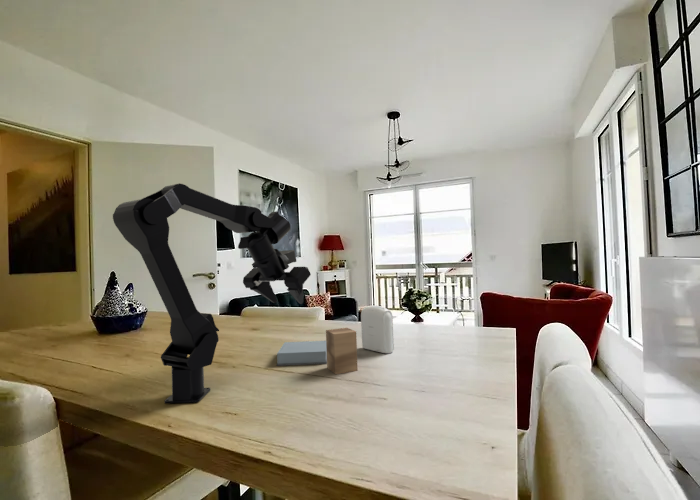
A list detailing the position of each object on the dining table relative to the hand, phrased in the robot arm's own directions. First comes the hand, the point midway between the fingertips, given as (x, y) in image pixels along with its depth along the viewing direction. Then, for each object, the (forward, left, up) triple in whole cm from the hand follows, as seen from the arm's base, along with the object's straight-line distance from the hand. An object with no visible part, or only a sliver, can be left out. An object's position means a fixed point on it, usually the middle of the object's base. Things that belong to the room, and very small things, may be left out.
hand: (288, 302), depth 98 cm
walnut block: (-12, -14, -15) cm, 23 cm away
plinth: (-1, -4, -15) cm, 15 cm away
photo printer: (+4, -24, -15) cm, 28 cm away
